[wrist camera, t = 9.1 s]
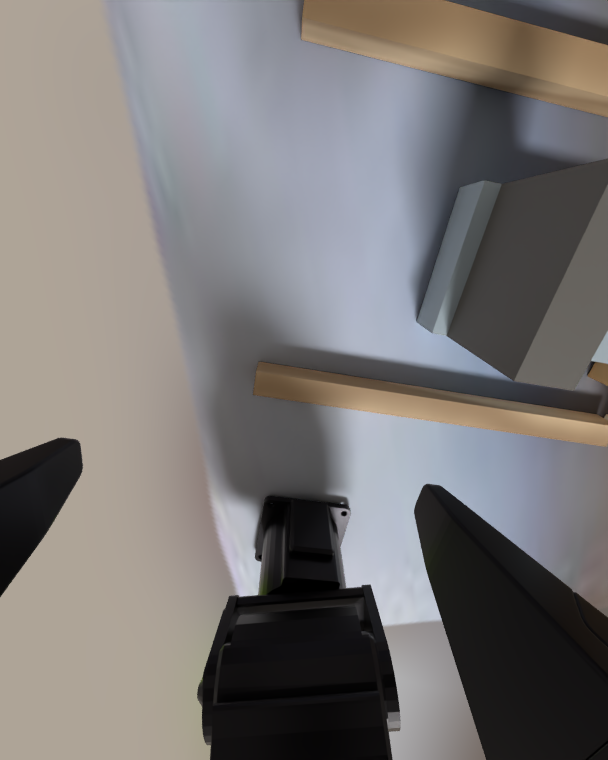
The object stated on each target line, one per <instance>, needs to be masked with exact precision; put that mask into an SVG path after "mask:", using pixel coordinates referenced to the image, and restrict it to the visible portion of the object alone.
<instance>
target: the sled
mask: <svg viewBox="0 0 608 760" xmlns="http://www.w3.org/2000/svg"><path fill="white" fill-rule="evenodd" d="M417 323H419V324H420V325H421V326H423V327H424V328H425V329H427V330H428V331H430V332H431V333H433V334H439V335H445V336H448V337H449V338H451V339H452V340H453V341H455V342H456V343H458V344H459V345H461V346H462V347H464V348H465V349H467V350H468V351H470V352H471V353H473V354H474V355H476V356H477V357H479V358H480V359H482V360H483V361H485V362H486V363H488V364H489V365H491V366H492V367H494V368H495V369H497V370H498V371H500V372H501V373H503V374H504V375H506V376H507V377H509V378H510V379H511V380H513V381H516V382H522V383H528V384H534V385H541V386H547V387H553V388H559V389H565V390H571V391H574V390H575V388H576V386H577V384H578V383H579V381H580V379H581V377H582V376H583V374H584V372H585V370H586V368H587V367H588V365H589V363H590V361H595V364H594V365H593V367H592V369H591V371H590V372H589V374H588V377H590V378H592V379H594V380H596V381H598V382H600V383H603V384H605V385H607V386H608V159H604V160H600V161H596V162H592V163H587V164H583V165H579V166H575V167H571V168H567V169H562V170H558V171H554V172H550V173H546V174H541V175H537V176H533V177H529V178H525V179H521V180H516V181H512V182H508V183H504V184H500V183H495V182H491V181H486V180H484V181H480V182H477V183H473V184H469V185H466V186H462V187H460V188H459V191H458V194H457V198H456V201H455V204H454V207H453V210H452V213H451V216H450V219H449V222H448V226H447V229H446V232H445V235H444V238H443V241H442V244H441V247H440V251H439V254H438V257H437V260H436V263H435V266H434V269H433V272H432V275H431V279H430V282H429V285H428V288H427V291H426V294H425V297H424V300H423V304H422V307H421V310H420V313H419V316H418V319H417Z"/></svg>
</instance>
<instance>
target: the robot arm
mask: <svg viewBox="0 0 608 760" xmlns="http://www.w3.org/2000/svg"><path fill="white" fill-rule="evenodd" d="M82 469H83V463H82V455H81V446H80V443H79V441H78V440H76V439H68V438H57V439H55V440H52V441H49V442H47V443H44V444H41V445H39V446H36V447H34V448H31V449H28V450H25V451H23V452H20V453H18V454H15V455H12V456H10V457H7V458H4V459H2V460H0V597H1V595H2V594H3V593H4V591H5V590H6V589H7V587H8V586H9V584H10V583H11V582H12V580H13V579H14V578H15V576H16V575H17V573H18V572H19V571H20V569H21V568H22V566H23V565H24V564H25V562H26V561H27V560H28V558H29V557H30V556H31V554H32V553H33V551H34V550H35V549H36V547H37V546H38V544H39V543H40V542H41V540H42V539H43V537H44V536H45V535H46V533H47V531H48V530H49V528H50V527H51V525H52V523H53V522H54V520H55V518H56V517H57V515H58V513H59V512H60V510H61V508H62V506H63V505H64V503H65V501H66V499H67V498H68V496H69V494H70V492H71V491H72V489H73V488H74V486H75V484H76V482H77V481H78V479H79V477H80V475H81V473H82ZM270 503H273V504H270ZM343 511H345V512H343ZM414 514H415V520H416V524H417V529H418V534H419V539H420V543H421V548H422V553H423V557H424V562H425V566H426V570H427V574H428V577H429V581H430V584H431V587H432V590H433V593H434V596H435V600H436V603H437V606H438V609H439V612H440V615H441V618H442V622H443V625H444V628H445V631H446V634H447V637H448V640H449V643H450V646H451V650H452V653H453V656H454V659H455V662H456V665H457V669H458V672H459V675H460V678H461V681H462V684H463V688H464V691H465V694H466V697H467V700H468V703H469V707H470V710H471V713H472V716H473V719H474V722H475V725H476V729H477V732H478V735H479V738H480V741H481V744H482V748H483V750H484V754H485V757H486V760H608V617H607V616H605V615H604V614H603V613H601V612H600V611H599V610H597V609H596V608H595V607H594V606H592V605H591V604H590V603H589V602H587V601H586V600H585V599H584V598H582V597H581V596H580V595H579V594H577V593H575V592H573V591H572V589H571V588H570V587H568V586H567V585H566V584H564V583H563V582H562V581H561V580H559V579H558V578H557V577H556V576H554V575H553V574H552V573H551V572H549V571H548V570H547V569H545V568H544V567H543V566H542V565H540V564H539V563H538V562H537V561H535V560H534V559H533V558H532V557H530V556H529V555H528V554H526V553H525V552H524V551H523V550H521V549H520V548H519V547H518V546H516V545H515V544H514V543H513V542H511V541H510V540H509V539H507V538H506V537H505V536H504V535H502V534H501V533H500V532H499V531H497V530H496V529H495V528H494V527H492V526H491V525H490V524H489V523H487V522H486V521H485V520H483V519H482V518H481V517H480V516H478V515H477V514H476V513H475V512H473V511H472V510H471V509H470V508H468V507H467V506H466V505H464V504H463V503H462V502H461V501H459V500H458V499H457V498H456V497H454V496H453V495H452V494H451V493H449V492H448V491H447V490H445V489H444V488H443V487H442V486H439V485H433V484H425V485H424V486H423V488H422V490H421V493H420V495H419V497H418V500H417V502H416V505H415V509H414ZM350 515H351V512H350V508H349V506H347V505H343V504H335V503H327V502H318V501H310V500H301V499H293V498H284V497H276V496H268V497H266V498H265V500H264V506H263V511H262V517H261V523H260V529H259V535H258V541H257V547H256V553H255V559H256V560H257V561H261V572H260V582H259V592H258V595H255V596H243V597H239V595H235V596H229V599H228V602H227V605H226V608H225V609H224V611H223V614H222V616H221V620H220V623H219V626H218V629H217V632H216V635H215V638H214V641H213V645H212V648H211V651H210V654H209V657H208V660H207V663H206V667H205V669H204V674H203V678H202V680H201V682H200V684H199V687H198V694H197V695H198V696H197V698H198V700H199V702H200V704H201V705H202V729H203V737H204V740H205V743H206V744H207V745H211V754H210V760H392V754H391V746H390V739H389V731H400V710H399V702H398V694H397V687H396V682H395V675H394V670H393V665H392V661H391V656H390V651H389V648H388V644H387V640H386V637H385V633H384V630H383V626H382V623H381V619H380V616H379V612H378V609H377V605H376V602H375V598H374V595H373V591H372V588H371V585H362V587H355V588H346V583H345V576H344V569H343V562H342V555H341V548H340V546H341V543H342V540H343V537H344V534H345V531H346V527H347V524H348V521H349V518H350Z"/></svg>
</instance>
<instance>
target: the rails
mask: <svg viewBox="0 0 608 760" xmlns="http://www.w3.org/2000/svg"><path fill="white" fill-rule="evenodd" d="M301 40H305V41H309V42H312V43H316V44H320V45H324V46H328V47H332V48H336V49H340V50H344V51H348V52H352V53H356V54H360V55H364V56H368V57H372V58H376V59H380V60H384V61H388V62H392V63H395V64H399V65H403V66H407V67H411V68H415V69H419V70H423V71H427V72H431V73H435V74H439V75H443V76H447V77H451V78H455V79H459V80H463V81H467V82H471V83H475V84H478V85H482V86H486V87H490V88H494V89H498V90H502V91H506V92H510V93H514V94H518V95H522V96H526V97H530V98H534V99H538V100H542V101H546V102H550V103H554V104H557V105H561V106H565V107H569V108H573V109H577V110H581V111H585V112H589V113H593V114H597V115H601V116H605V117H608V45H604V44H601V43H597V42H594V41H590V40H586V39H583V38H579V37H576V36H572V35H568V34H565V33H561V32H557V31H554V30H550V29H547V28H543V27H539V26H536V25H532V24H528V23H525V22H521V21H518V20H514V19H510V18H507V17H503V16H499V15H496V14H492V13H489V12H485V11H481V10H478V9H474V8H471V7H467V6H463V5H460V4H456V3H452V2H449V1H445V0H304V7H303V14H302V35H301ZM253 395H257V396H264V397H271V398H278V399H284V400H291V401H298V402H305V403H312V404H318V405H325V406H332V407H339V408H346V409H353V410H359V411H366V412H373V413H380V414H387V415H394V416H400V417H407V418H414V419H421V420H428V421H434V422H441V423H448V424H455V425H462V426H469V427H475V428H482V429H489V430H496V431H503V432H510V433H516V434H523V435H530V436H537V437H544V438H550V439H557V440H564V441H571V442H578V443H585V444H591V445H598V446H605V447H606V446H607V444H608V420H606V419H604V418H602V417H601V416H599V415H597V414H591V413H585V412H578V411H572V410H566V409H559V408H553V407H546V406H540V405H534V404H527V403H521V402H515V401H508V400H502V399H495V398H489V397H483V396H476V395H470V394H463V393H457V392H451V391H444V390H438V389H431V388H425V387H419V386H412V385H406V384H400V383H393V382H387V381H380V380H374V379H368V378H361V377H355V376H348V375H342V374H336V373H329V372H323V371H316V370H310V369H304V368H297V367H291V366H285V365H278V364H272V363H265V362H258V366H257V370H256V375H255V383H254V391H253Z"/></svg>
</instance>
